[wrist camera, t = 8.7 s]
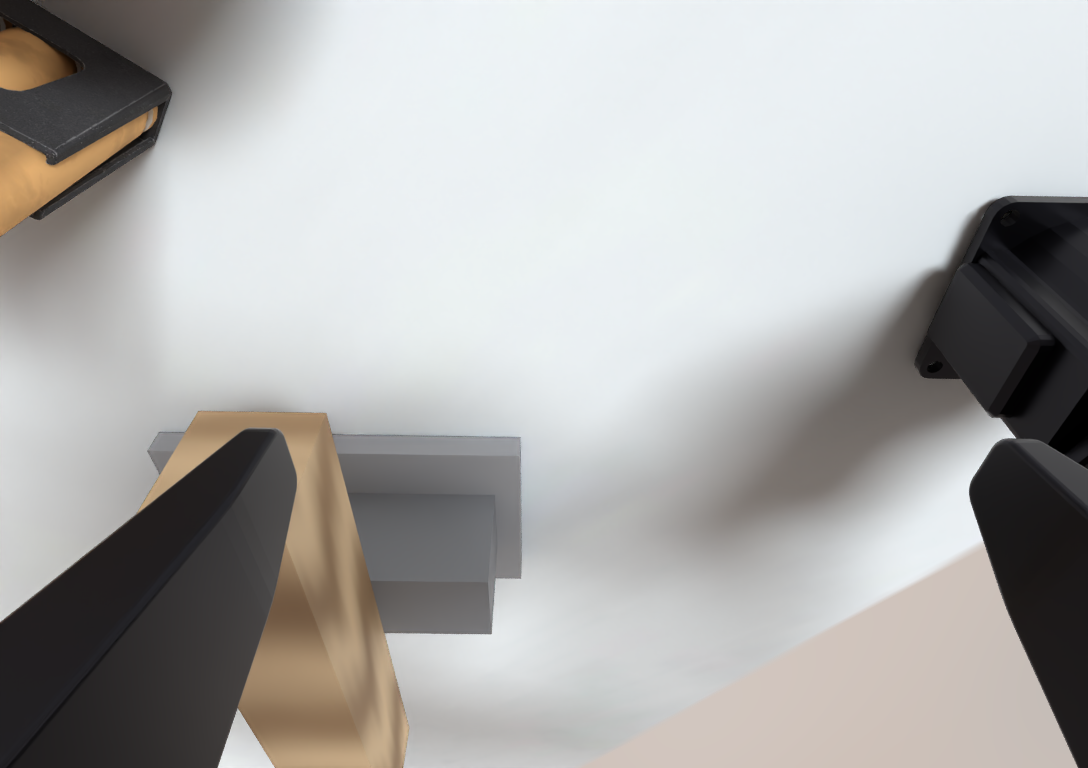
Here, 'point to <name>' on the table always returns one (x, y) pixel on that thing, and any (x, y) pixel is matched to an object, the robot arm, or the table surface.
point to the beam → (312, 612)
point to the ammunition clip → (65, 111)
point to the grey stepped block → (428, 523)
